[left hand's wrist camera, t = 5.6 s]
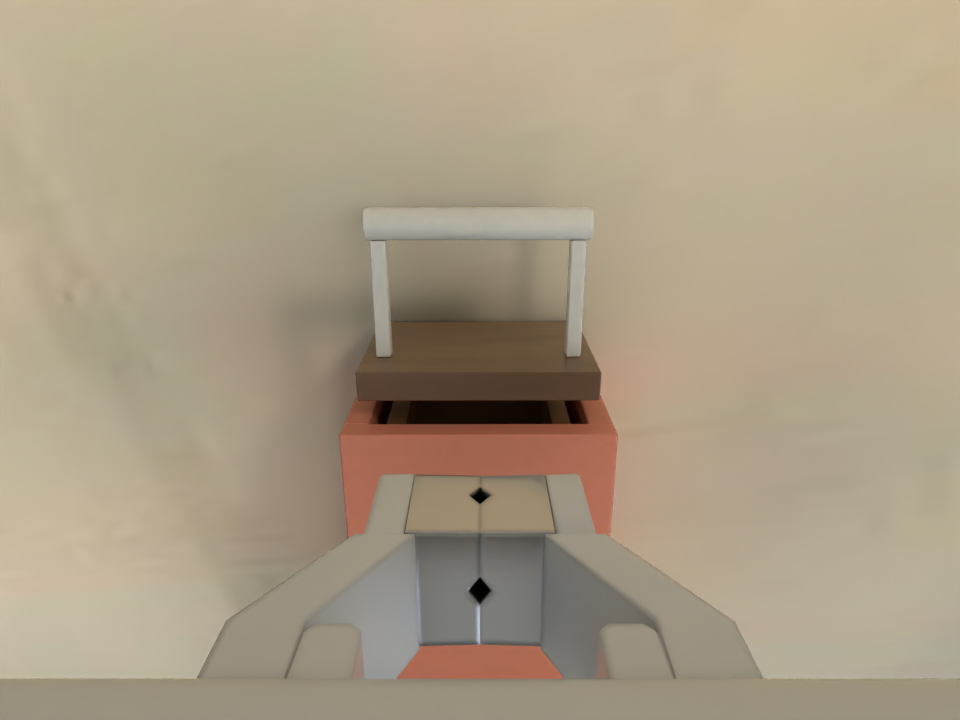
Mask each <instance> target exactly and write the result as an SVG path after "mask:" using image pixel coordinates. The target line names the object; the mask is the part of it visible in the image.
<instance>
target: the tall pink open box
mask: <svg viewBox="0 0 960 720" xmlns="http://www.w3.org/2000/svg"><path fill="white" fill-rule="evenodd" d="M564 403H565V406H566V409H567V413H568V416H569V419H570V423H571V424H387V421H388V418H389V414H390V411H391V408H392V404H393V401H358V400H357V397H356V399H355V401H354V403H353V406H352V408H351V410H350V413H349V415H348V417H347V419H346V422H345V424H344V426H343V429H342V431H341V433H340V435H339V438H340V450H341V462H342V474H343V486H344V498H345V511H346V523H347V535H348V538H349V537H351V536H352V535H354V534H364V531H365V528H366V524H367V521H368V517H369V514H370V510H371V506H372V503H373V499H374V496H375V492H376V489H377V485H378V481H379V478H380V477H381V476H382V475H383V474H414V475H416V474H418V475H472V476H505V475H556V474H578V475H579V476H580V479H581V482H582V486H583V489H584V493H585V496H586V500H587V503H588V507H589V510H590V514H591V517H592V521H593V524H594V528H595V532H596V534H607V535H608V536H609V537H610V530H611V517H612V504H613V491H614V478H615V465H616V452H617V440H618V435H617V432H616V430H615V428H614V425H613V424H612V421H611V419H610V417H609V414H608V412H607V410H606V407H605V405H604V403H603V400H602V398H601V396H600V399H599V400H564ZM396 679H564V678H563V676H562V675H561V674H560V673H559V671H558V670H557V669H556V668H555V666H554V665H553V664H552V663H551V661H550V660H549V659H548V658H547V656H546V655H545V654H544V653H543V651H542V650H541V646H510V645H449V646H419V651H418V652H417V653H416V655H415V656H414V657H413V658H412V660H411V661H410V662H409V663H408V664H407V666H406V667H405V668H404V669H403V671H402V672H401V673H400V674H399V676H398V677H397V678H396Z"/></svg>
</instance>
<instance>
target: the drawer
mask: <svg viewBox="0 0 960 720" xmlns="http://www.w3.org/2000/svg"><path fill="white" fill-rule="evenodd" d="M362 229H363V235H364V238H365V239H366V240H371V241H370V255H371V272H372V289H373V306H374V323H375V334H374V336H373V338H372V340H371V343H370V345H369V347H368V349H367V351H366V353H365V355H364V357H363V359H362V361H361V363H360V365H359V367H358V370H357V372H356V386H357V400H358V401H393V404H392V408H391V411H390V414H389V418H388V421H387V424H571V423H570V419H569V416H568V413H567V409H566V406H565V403H564V400H599V399H600V385H601V371H600V369H599V367H598V365H597V363H596V361H595V359H594V357H593V354H592V352H591V350H590V348H589V346H588V344H587V342H586V340H585V338H584V335H583V333H582V319H583V301H584V282H585V263H586V244H587V242H586V240H590V239H591V238H592V236H593V231H594V212H593V208H591V207H366V208H364V210H363V214H362ZM387 240H570V242H569V265H568V287H567V310H566V321H391V312H390V292H389V272H388V252H387Z"/></svg>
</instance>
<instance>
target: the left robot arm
mask: <svg viewBox="0 0 960 720" xmlns="http://www.w3.org/2000/svg"><path fill="white" fill-rule="evenodd" d="M449 645H510V646H541V650H542V651H543V653H544V654H545V655H546V656H547V658H548V659H549V660H550V661H551V663H552V664H553V665H554V666H555V668H556V669H557V670H558V671H559V673H560V674H561V675H562V676H563V678H564V679H396V678H397V677H398V676H399V674H400V673H401V672H402V671H403V669H404V668H405V667H406V666H407V664H408V663H409V662H410V661H411V660H412V658H413V657H414V656H415V655H416V653H417V652H418V651H419V646H449ZM0 720H960V679H763V677H762V675H761V673H760V671H759V669H758V667H757V665H756V663H755V661H754V659H753V657H752V655H751V653H750V651H749V649H748V647H747V645H746V643H745V641H744V639H743V637H742V635H741V633H740V631H739V629H738V627H737V625H736V623H735V622H734V621H733V620H731V619H730V618H729V617H727V616H726V615H724V614H723V613H721V612H720V611H718V610H717V609H715V608H714V607H712V606H711V605H709V604H708V603H707V602H705V601H704V600H702V599H701V598H699V597H698V596H696V595H695V594H693V593H692V592H690V591H689V590H687V589H686V588H684V587H683V586H682V585H680V584H679V583H677V582H676V581H674V580H673V579H671V578H670V577H668V576H667V575H665V574H664V573H662V572H661V571H659V570H658V569H657V568H655V567H654V566H652V565H651V564H649V563H648V562H646V561H645V560H643V559H642V558H640V557H639V556H637V555H636V554H634V553H633V552H632V551H630V550H629V549H627V548H626V547H624V546H623V545H621V544H620V543H618V542H617V541H615V540H614V539H612V538H611V537H609V536H608V535H607V534H596V532H595V528H594V524H593V521H592V517H591V514H590V510H589V507H588V503H587V500H586V496H585V493H584V489H583V486H582V482H581V479H580V476H579V475H578V474H556V475H505V476H472V475H418V474H416V475H414V474H383V475H382V476H381V477H380V478H379V481H378V485H377V489H376V492H375V496H374V499H373V503H372V506H371V510H370V514H369V517H368V521H367V524H366V528H365V531H364V534H354V535H352V536H351V537H349V538H348V539H346V540H345V541H343V542H342V543H340V544H339V545H337V546H336V547H334V548H333V549H331V550H330V551H328V552H327V553H325V554H324V555H322V556H321V557H320V558H318V559H317V560H315V561H314V562H312V563H311V564H309V565H308V566H306V567H305V568H303V569H302V570H300V571H299V572H297V573H296V574H294V575H293V576H291V577H290V578H289V579H287V580H286V581H284V582H283V583H281V584H280V585H278V586H277V587H275V588H274V589H272V590H271V591H269V592H268V593H266V594H265V595H263V596H262V597H260V598H259V599H257V600H256V601H255V602H253V603H252V604H250V605H249V606H247V607H246V608H244V609H243V610H241V611H240V612H238V613H237V614H235V615H234V616H232V617H231V618H229V619H228V620H226V622H225V624H224V626H223V628H222V630H221V632H220V634H219V636H218V638H217V640H216V642H215V644H214V646H213V647H212V649H211V651H210V653H209V655H208V657H207V659H206V661H205V663H204V665H203V667H202V669H201V671H200V673H199V675H198V677H197V679H0Z"/></svg>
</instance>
